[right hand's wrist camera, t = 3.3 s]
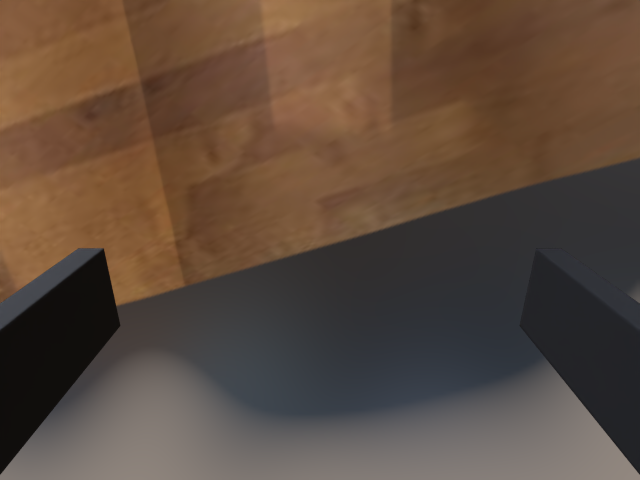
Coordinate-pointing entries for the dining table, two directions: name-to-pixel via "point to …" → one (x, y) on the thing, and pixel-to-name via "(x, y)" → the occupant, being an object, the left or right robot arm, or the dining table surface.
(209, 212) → the dining table surface
